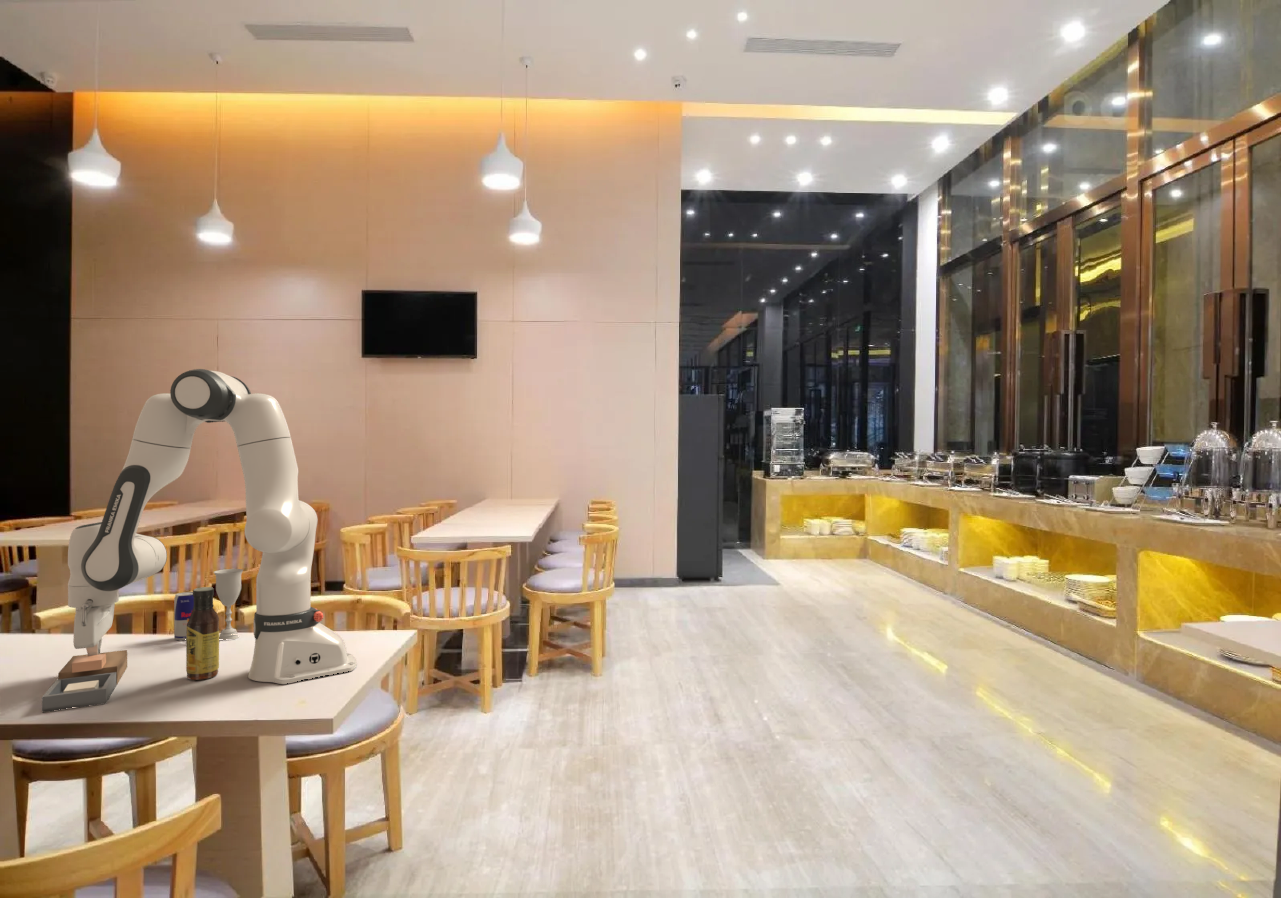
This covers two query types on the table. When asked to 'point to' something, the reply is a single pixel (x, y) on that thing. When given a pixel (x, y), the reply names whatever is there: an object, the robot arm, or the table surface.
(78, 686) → the cream block
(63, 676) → the walnut board
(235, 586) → the chalice
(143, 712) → the table surface
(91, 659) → the peach rectangular prism
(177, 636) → the energy drink
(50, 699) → the charcoal tray
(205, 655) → the sauce bottle
